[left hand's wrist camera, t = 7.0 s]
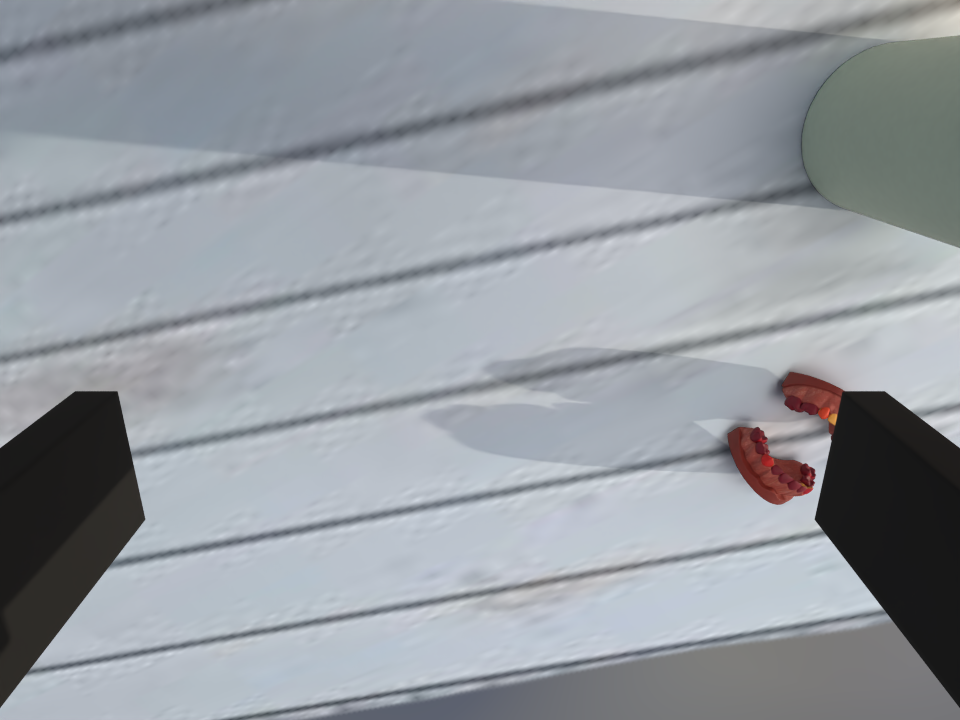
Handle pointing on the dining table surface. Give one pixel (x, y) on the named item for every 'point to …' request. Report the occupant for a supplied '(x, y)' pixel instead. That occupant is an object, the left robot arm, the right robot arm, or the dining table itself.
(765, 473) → the dental model
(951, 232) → the jar
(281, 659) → the dining table surface
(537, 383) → the dining table surface
